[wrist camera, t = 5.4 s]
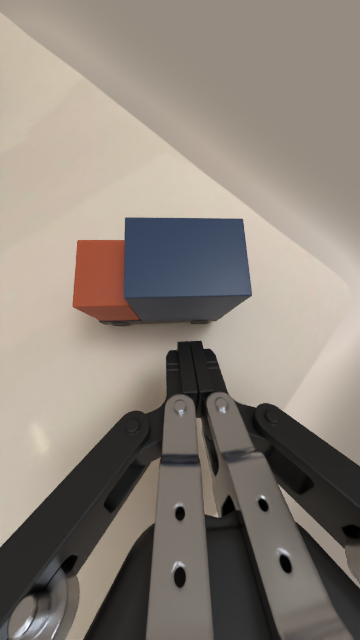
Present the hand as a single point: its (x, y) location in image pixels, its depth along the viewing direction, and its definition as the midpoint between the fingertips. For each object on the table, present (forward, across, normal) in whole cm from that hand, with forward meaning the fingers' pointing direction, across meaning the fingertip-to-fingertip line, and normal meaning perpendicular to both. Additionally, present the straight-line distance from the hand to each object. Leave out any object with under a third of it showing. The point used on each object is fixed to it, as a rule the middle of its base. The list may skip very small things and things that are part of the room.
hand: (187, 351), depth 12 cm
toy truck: (+8, +2, +1) cm, 9 cm away
